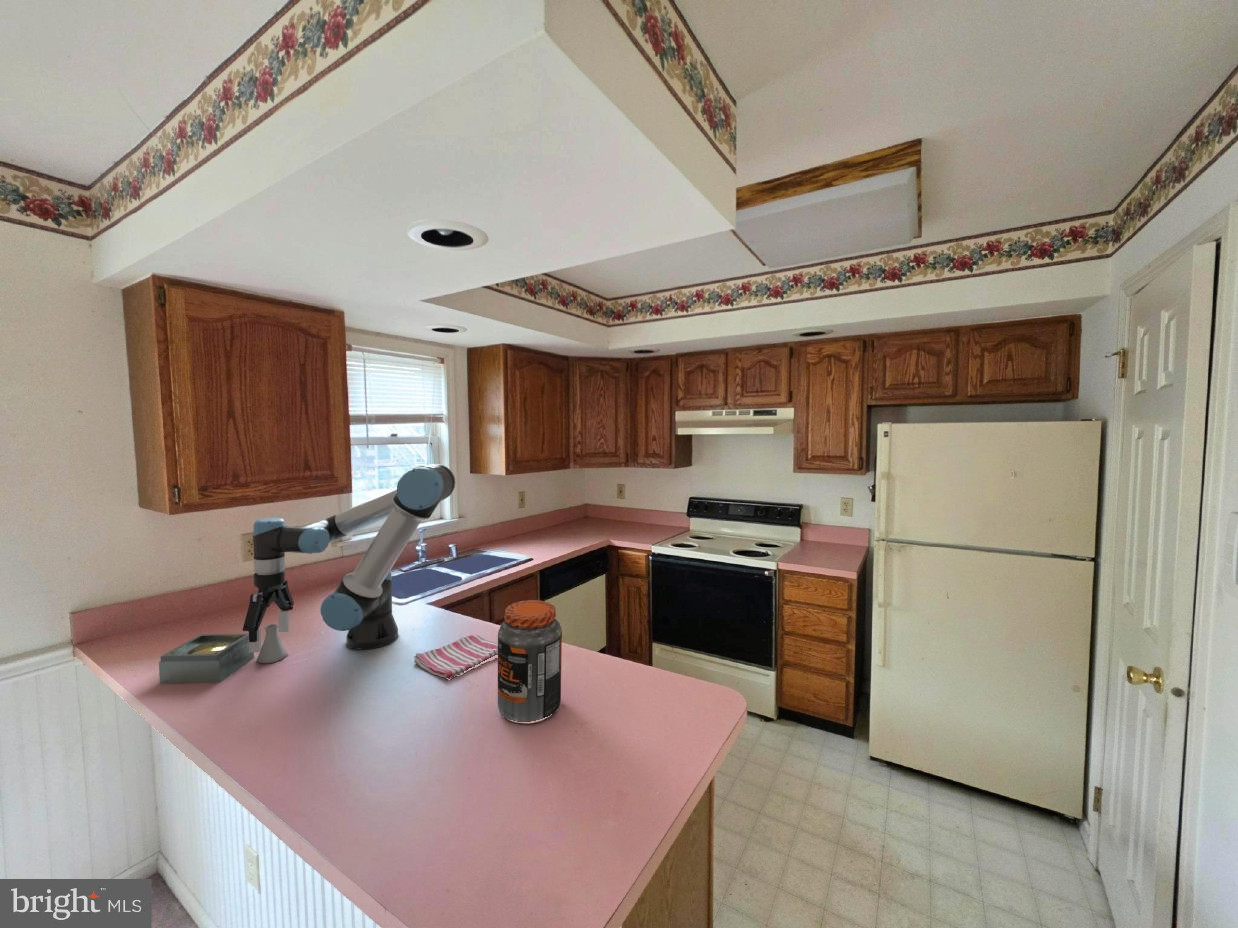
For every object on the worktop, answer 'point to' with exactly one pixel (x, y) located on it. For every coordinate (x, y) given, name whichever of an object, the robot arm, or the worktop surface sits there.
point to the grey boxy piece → (205, 659)
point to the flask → (271, 646)
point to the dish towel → (457, 656)
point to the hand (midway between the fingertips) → (270, 641)
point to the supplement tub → (529, 661)
